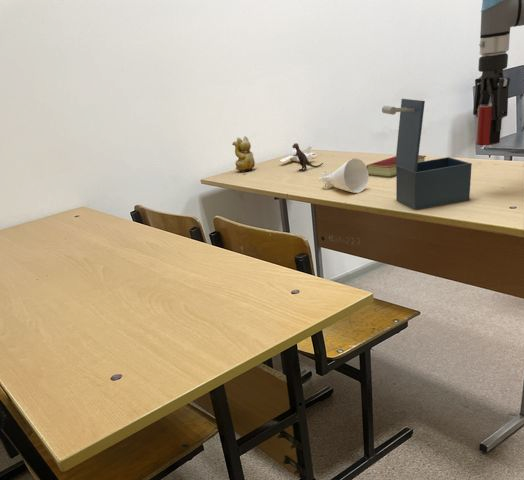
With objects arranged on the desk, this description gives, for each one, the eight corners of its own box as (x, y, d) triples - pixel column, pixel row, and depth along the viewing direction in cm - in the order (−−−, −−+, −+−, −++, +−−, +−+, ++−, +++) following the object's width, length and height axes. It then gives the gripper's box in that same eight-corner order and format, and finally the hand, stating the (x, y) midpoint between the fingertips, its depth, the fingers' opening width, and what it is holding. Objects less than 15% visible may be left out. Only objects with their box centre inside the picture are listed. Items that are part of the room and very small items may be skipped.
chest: (447, 191, 173) (448, 156, 168) (469, 200, 161) (471, 163, 156) (396, 200, 171) (396, 165, 166) (414, 209, 159) (415, 173, 154)
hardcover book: (366, 175, 209) (365, 164, 207) (402, 164, 219) (402, 153, 217) (389, 177, 200) (389, 166, 198) (425, 166, 210) (426, 155, 208)
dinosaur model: (290, 143, 226) (319, 139, 232) (291, 171, 232) (319, 166, 238) (295, 144, 223) (325, 140, 229) (296, 173, 229) (324, 168, 235)
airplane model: (307, 156, 262) (305, 140, 258) (330, 159, 246) (329, 142, 243) (272, 164, 254) (270, 148, 250) (294, 168, 239) (293, 151, 235)
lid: (404, 98, 157) (377, 99, 156) (425, 100, 145) (396, 101, 144) (397, 164, 166) (372, 165, 164) (416, 171, 154) (389, 172, 153)
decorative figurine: (247, 168, 254) (243, 134, 247) (260, 168, 249) (256, 134, 242) (233, 172, 248) (228, 138, 241) (246, 173, 243) (241, 138, 236)
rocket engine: (317, 160, 196) (350, 151, 181) (339, 175, 203) (372, 168, 188) (307, 188, 196) (339, 182, 181) (329, 203, 202) (362, 198, 187)
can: (492, 140, 161) (495, 102, 156) (503, 143, 156) (506, 103, 151) (472, 143, 161) (474, 105, 156) (482, 146, 156) (484, 106, 150)
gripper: (462, 57, 155) (459, 140, 166) (501, 55, 138) (494, 147, 149) (486, 53, 156) (481, 136, 167) (527, 50, 139) (519, 143, 150)
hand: (487, 141), depth 158 cm, fingers closed on can, 6 cm apart
